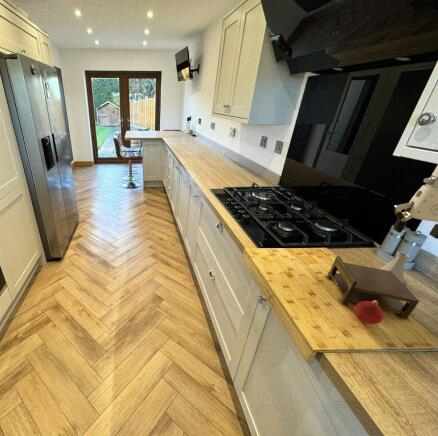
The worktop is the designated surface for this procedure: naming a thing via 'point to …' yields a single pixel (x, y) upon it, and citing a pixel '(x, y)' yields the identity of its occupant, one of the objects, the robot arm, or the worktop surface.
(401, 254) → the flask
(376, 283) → the wooden step stool
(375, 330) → the worktop surface
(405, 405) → the worktop surface
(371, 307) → the onion
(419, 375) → the worktop surface
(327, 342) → the worktop surface
